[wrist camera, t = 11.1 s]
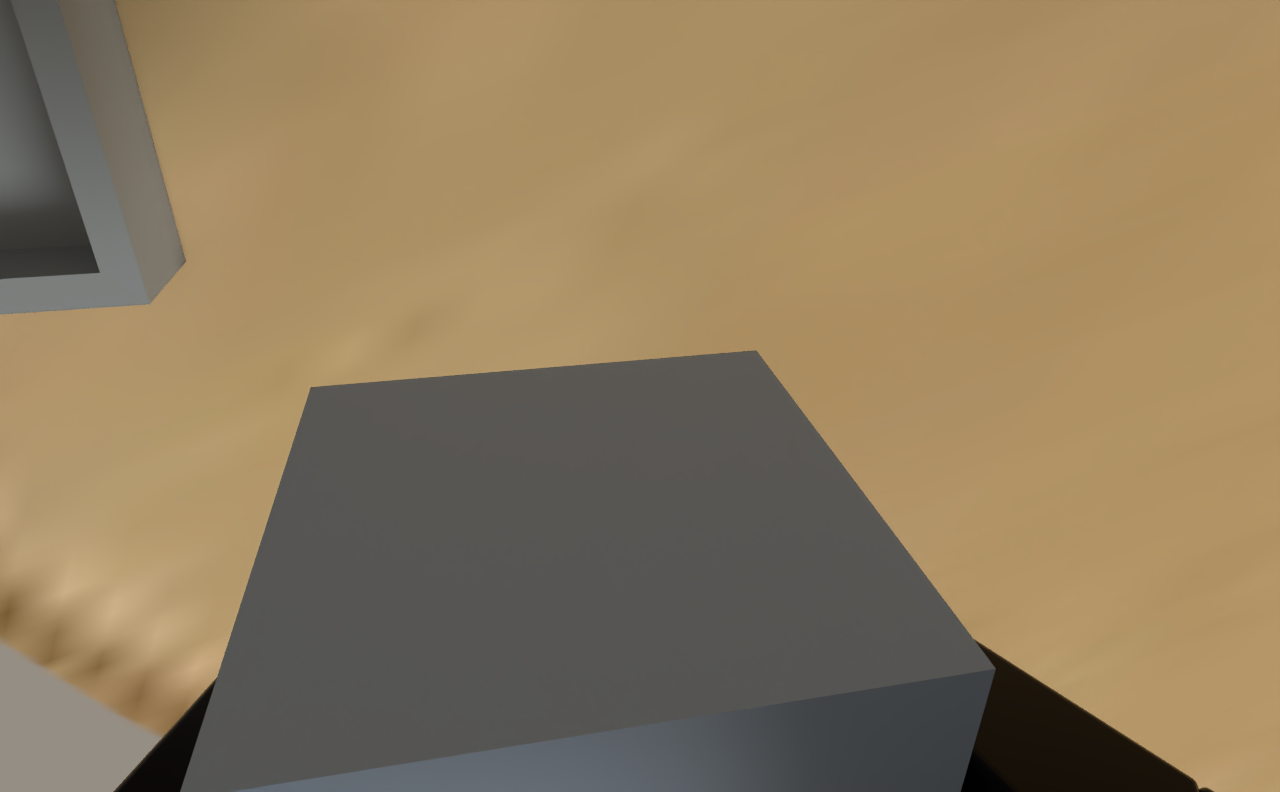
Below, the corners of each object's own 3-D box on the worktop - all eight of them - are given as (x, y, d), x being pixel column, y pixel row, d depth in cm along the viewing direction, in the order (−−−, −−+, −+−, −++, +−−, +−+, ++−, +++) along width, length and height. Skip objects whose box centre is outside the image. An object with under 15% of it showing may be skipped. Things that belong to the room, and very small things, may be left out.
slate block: (756, 350, 8) (997, 668, 4) (732, 659, 10) (884, 1052, 6) (311, 386, 7) (177, 799, 4) (378, 712, 9) (332, 1185, 6)
